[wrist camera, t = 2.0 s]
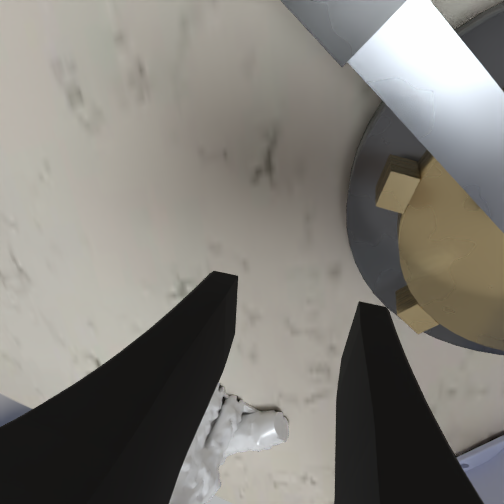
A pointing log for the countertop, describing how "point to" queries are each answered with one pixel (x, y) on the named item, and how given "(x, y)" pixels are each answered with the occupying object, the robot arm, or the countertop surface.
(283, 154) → the countertop surface
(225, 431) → the seated beast figurine
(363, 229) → the disc
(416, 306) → the brass turntable dial
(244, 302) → the countertop surface
